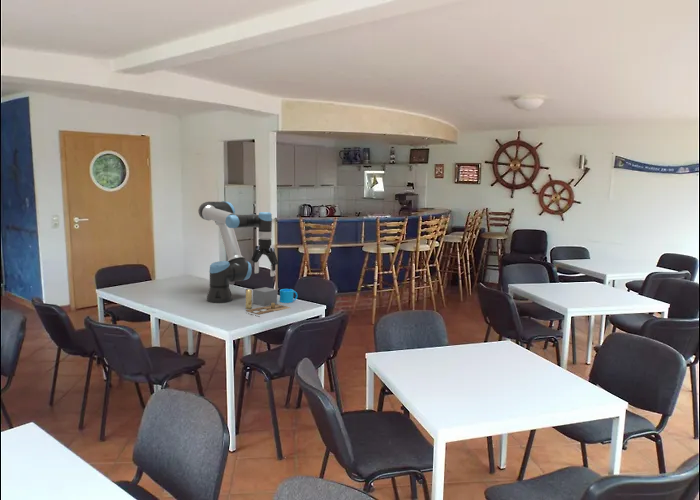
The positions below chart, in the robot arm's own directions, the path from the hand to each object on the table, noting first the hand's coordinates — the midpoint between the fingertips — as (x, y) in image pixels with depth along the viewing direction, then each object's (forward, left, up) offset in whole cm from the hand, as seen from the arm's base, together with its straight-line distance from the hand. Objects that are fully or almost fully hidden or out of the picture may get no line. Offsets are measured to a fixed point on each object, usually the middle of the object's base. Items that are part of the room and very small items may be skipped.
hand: (264, 274), depth 307 cm
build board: (+12, -14, -19) cm, 26 cm away
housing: (0, +1, -19) cm, 19 cm away
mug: (+5, +16, -19) cm, 25 cm away
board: (+12, -1, -19) cm, 22 cm away
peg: (+3, -14, -19) cm, 24 cm away
